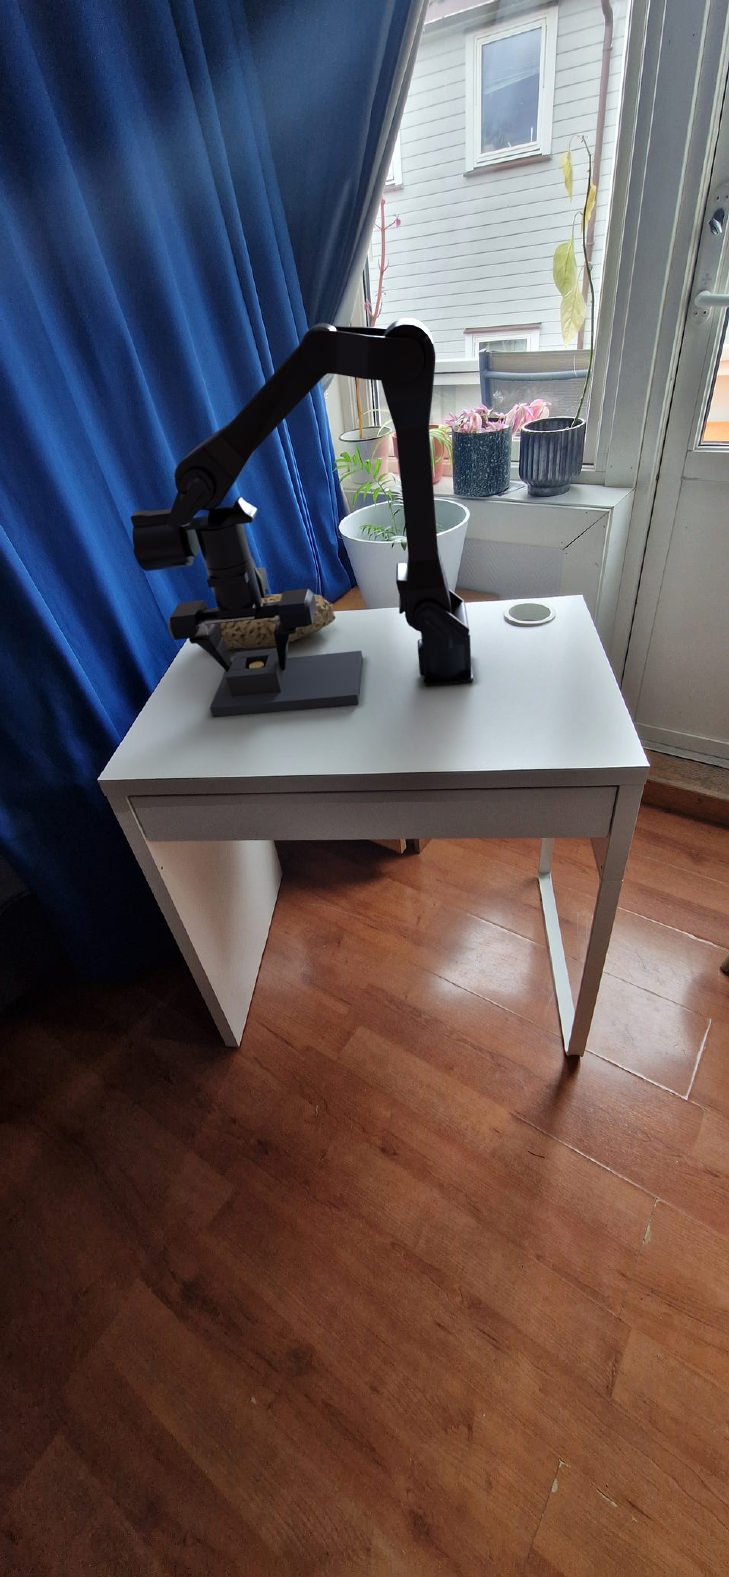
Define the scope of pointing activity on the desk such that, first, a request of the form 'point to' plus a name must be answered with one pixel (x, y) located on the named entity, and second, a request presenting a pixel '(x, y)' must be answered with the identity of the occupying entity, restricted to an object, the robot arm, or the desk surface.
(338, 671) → the base pad
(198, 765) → the desk surface
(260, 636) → the sponge
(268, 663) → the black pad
